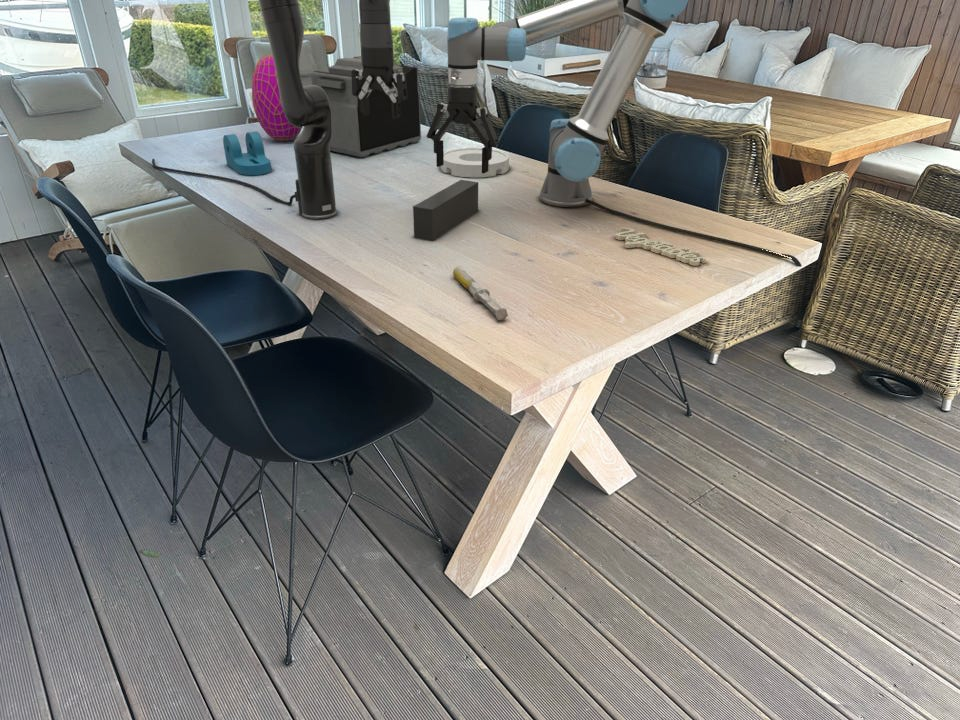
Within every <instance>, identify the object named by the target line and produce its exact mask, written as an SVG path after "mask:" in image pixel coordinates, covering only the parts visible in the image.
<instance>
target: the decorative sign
mask: <svg viewBox="0 0 960 720" xmlns="http://www.w3.org/2000/svg"><path fill="white" fill-rule="evenodd" d="M635 232H636V230H635V229H633V228H630V227H629V228H628V227H621V231H620V232H617V233H615V239H616V240H618V241H624V242H625V244H624V248H626V249H633V248H642V249H643V250H650V251H651V252H652V253H655V254H661V255H662V256H665V257H667V258H670V259H675V260H676V261H678V262H682V263H684V264H689V265H690V266H694V267H695V266H696V267H697V266H699V265H700V263H701V264H706V260H707V258H706V257H703V256H700V251H698V250H690V248H689V247H678V248H675V247H674V244H671V243H670V242H664V241H662V240H658V242H657V241H655V240H651V239H648V238H647V236H648V233H646V232H637V233H635Z"/></svg>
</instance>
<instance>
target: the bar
mask: <svg viewBox="0 0 960 720" xmlns="http://www.w3.org/2000/svg"><path fill="white" fill-rule="evenodd" d="M477 212H479V181H472V180H467V179H459V180H458V181H455V182H454V183H452V184H451V185H449V186H447V187H445V188H444V189H442V190H439V191H438V192H436V193H434V194H433V195H431V196H429V197H427V198H425V199H423V200H422V201H420V202H419V203H417V204H415V205H413V206H412V215H413V217H412V218H413V237H414V238H415V239H421V240H425V241H426V240H427V241H430V242H434V241H435V240H437V239H438V238H440V237H441V236H442V235H444V234H446V233H447V232H449V231H450V230H452V229H453V228H454V227H457V226H458V225H459V224H461V223H462V222H464V221H465V220H467V219H469V218H470V217H471V216H472V215H474V214H476V213H477Z"/></svg>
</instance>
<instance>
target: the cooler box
mask: <svg viewBox="0 0 960 720" xmlns="http://www.w3.org/2000/svg"><path fill="white" fill-rule="evenodd" d="M355 69H361V70H363V65H362V60H361V55H356V56H353V57H350V58H349V57H343V58H342V57H341V59H340V58H337V59H336V60H335V63H334V64H333V65H330V66H329V67H328V72H327V71H320V70H314V71H313V70H312V71H310V79H311V85H317V86H319V87H321V88H322V89H323V90H324V91H325V93H326V94H327V96H328V99H329V103H330V109H331V127H332V139H331V142H330V152H335V153H340V154H344V155H348V156H353V157H357V158H362V159H363V158H366V157H367V158H368V157H369V155H371V154H375V155H377V154H381V153H382V152H383V151H391V150H395V149H396V148H397V147H405V146H407V145H408V144H416V143H418V142H419V141H421V137H422V128H421V97H420V92H419V91H420V89H419V68H418V67H417V66H408V65H400V64H396V62H395V61H394V65H393V71H394V73H405V74H406V82H407V94H408V98H407V99H406V100H402V101H401V103H400V107H401V115H400V116H399V118H398V119H393V118H392V104H391V103H393V102H392V100H391V99H390V97H389V96H388V95H387V94H386V93H385V91H383V92H382V91H378V90H375V91H371V92H370V94H369V96H368V97H367V99H369V110H370V114H369V115H366V116H365V115H363V114H362V113H361V108H360V99H359V98H358V97H357V96H353V95H352V73H351V72H352V70H355ZM361 80H362V87H363V85H364V83H365V82H366V81H365V80H364V78H363V77H362V79H361ZM393 83H394V85H395V87H396V88H397V83H396V82H395V79H394V81H393ZM389 89H390V88H389ZM397 92H398V90H397Z"/></svg>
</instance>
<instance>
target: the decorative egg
mask: <svg viewBox="0 0 960 720" xmlns="http://www.w3.org/2000/svg"><path fill="white" fill-rule="evenodd" d="M253 70H254V71H253V73H252V77H251V101H252V107H253V110H254V114H255V116H256V118H257V121H258V123H259V125H260V127H261V128H262V130H263V131H264V133H266V135H267V136H268V137H270V138H271V139H273V140H275V141H282V142H286V141H291V140H293V139H296V138H297V137H298V136H299V135H300V134H301V132H302V130H303V127H295V126H293V125H292V124H290V123H289V121H288V120H287V118H286V117H285V114H284V112H283V109H282V105H281V100H280V94H279V87H278V81H277V75H276V69H275V64H274V60H273V56H272V54H268V55H265V56H262V57H261V58H260V59H259V60H258V61H257V62H256V65H255V68H254V69H253Z"/></svg>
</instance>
